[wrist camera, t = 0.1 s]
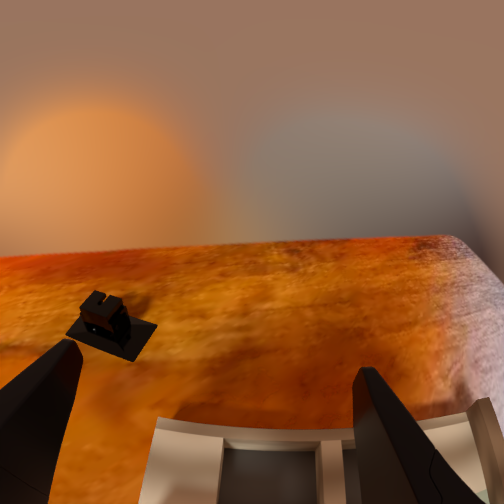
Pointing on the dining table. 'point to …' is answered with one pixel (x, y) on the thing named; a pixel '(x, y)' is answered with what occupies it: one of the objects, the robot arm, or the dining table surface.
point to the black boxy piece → (110, 327)
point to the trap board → (304, 461)
